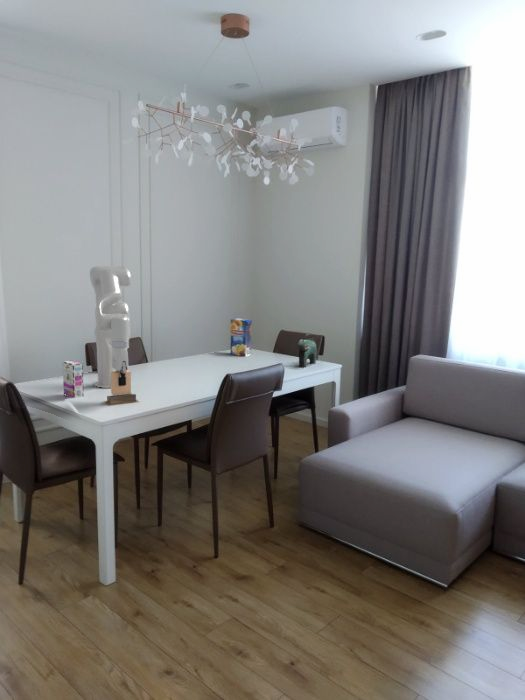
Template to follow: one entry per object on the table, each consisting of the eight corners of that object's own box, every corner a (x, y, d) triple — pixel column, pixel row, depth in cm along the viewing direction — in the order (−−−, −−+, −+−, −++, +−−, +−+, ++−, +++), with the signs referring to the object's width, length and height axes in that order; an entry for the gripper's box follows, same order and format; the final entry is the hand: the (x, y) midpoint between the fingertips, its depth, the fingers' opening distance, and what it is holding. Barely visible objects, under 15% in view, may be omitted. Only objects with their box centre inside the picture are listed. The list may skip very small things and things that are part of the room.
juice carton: (251, 355, 371) (251, 319, 366) (245, 356, 364) (246, 320, 360) (236, 353, 376) (236, 318, 372) (230, 354, 370) (230, 319, 366)
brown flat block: (103, 403, 245) (103, 394, 244) (134, 399, 252) (133, 390, 251) (108, 408, 238) (108, 398, 237) (139, 404, 245) (139, 394, 244)
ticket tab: (111, 393, 244) (110, 371, 242) (128, 391, 248) (128, 370, 246) (113, 395, 241) (112, 373, 239) (131, 393, 245) (130, 371, 243)
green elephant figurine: (304, 368, 331) (305, 335, 327) (294, 367, 334) (295, 334, 331) (318, 363, 347) (319, 332, 344) (309, 362, 351) (310, 331, 347)
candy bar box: (84, 398, 253) (83, 363, 250) (74, 400, 250) (72, 364, 247) (73, 393, 261) (72, 359, 258) (63, 395, 257) (61, 361, 255)
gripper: (106, 341, 245) (107, 381, 249) (117, 348, 232) (118, 390, 235) (123, 340, 249) (123, 379, 253) (134, 346, 235) (135, 388, 239)
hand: (121, 384), depth 244 cm, fingers closed on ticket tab, 3 cm apart
